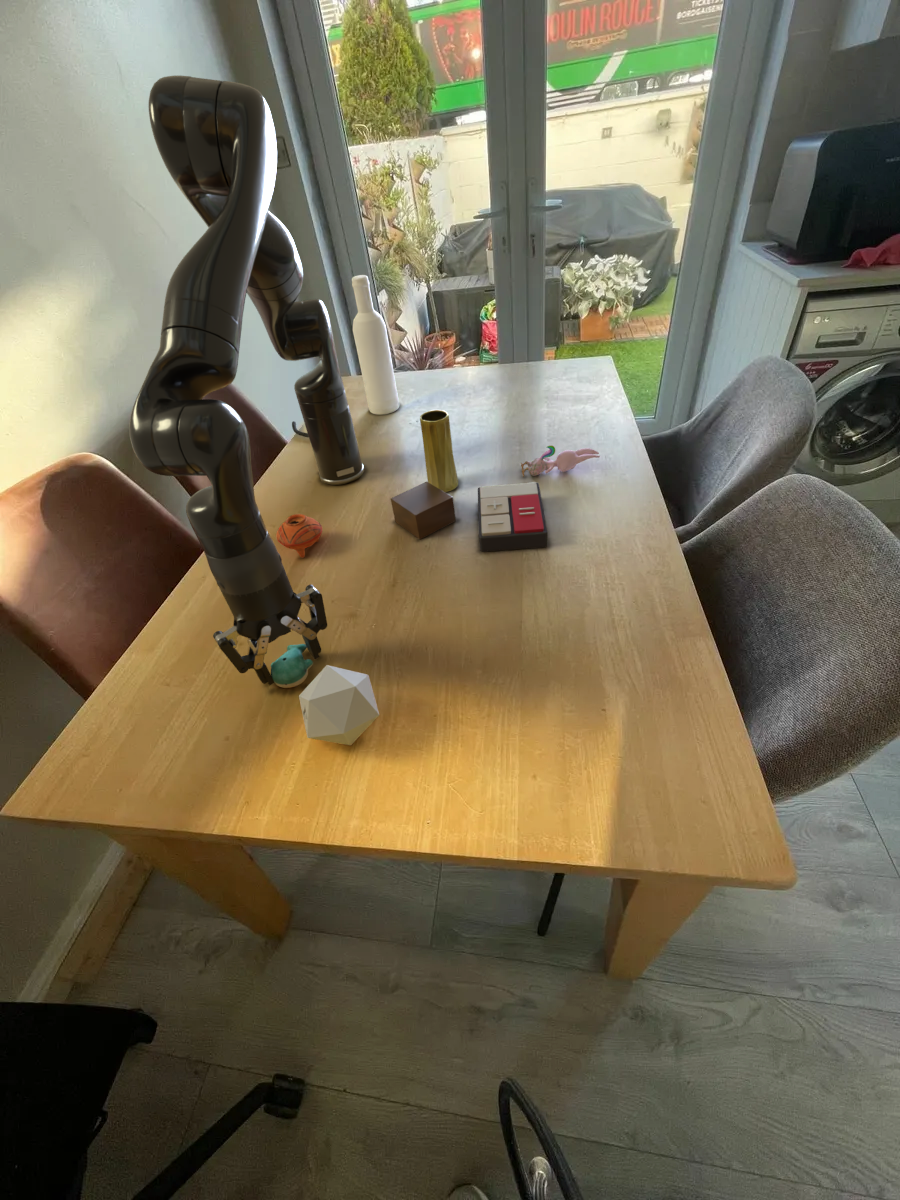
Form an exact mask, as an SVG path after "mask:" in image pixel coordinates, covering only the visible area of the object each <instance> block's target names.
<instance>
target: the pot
mask: <svg viewBox="0 0 900 1200" xmlns="http://www.w3.org/2000/svg"><path fill="white" fill-rule="evenodd" d="M322 533H323V526H322V523H320V522H319V521H318V520H317V519H314V518H312V517H311V516H307V515H305V514H303V513H295V514H292V515H289V516H288V517H287V518H286V519H285V520H284V522H282V524H280V526H279V527H278V529H277V531H276V534H275V535H276V536H275V537H276V540H277V542H278V543H279V544H281V546H283V547H285V548H287V549H290V550H295V551H296V553H297V554H298V555H299V557H300V558H302V559H303V558H305V555H306V548H309V547H311V546H313V545H314V544H315V543H319V540H320V538H321V536H322Z"/></svg>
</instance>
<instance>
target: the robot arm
mask: <svg viewBox="0 0 900 1200" xmlns="http://www.w3.org/2000/svg"><path fill="white" fill-rule="evenodd" d="M148 117H149V123H150V128H151V132H152V135H153V139H154V142H155V144H156V147H157V149H158V152H159V153H158V154H159V155H160V157H161V158H162V162H163V164H164V166H165V168H166V169H167V171H168V173H169V175H170V177H171V178H172V180H173V182H174V183H175V185H176V186H177V187H178V189H179V191H180V192H181V193H182V194H183V196H184V197H185V199H186V200H187V201H188V203H189V204H190V205H191V207H192V208H193V209H194V210H195V212H196V213H197V214H198V216H199V217H200V218H201V220H202V221H203V223H204V224H205V226H206V227H207V229H206V231H205V232H204V233H203V234H202V235H201V237H200V238H199V239H198V240H197V241H196V242H195V243H194V244H193V245H192V246H191V248H190V249H189V250H188V251H187V252H186V254H185V255H184V256H183V257H182V259H181V260H180V262H179V263H178V264H177V266H176V268H175V269H174V271H173V272H172V275H171V277H170V279H169V282H168V285H167V288H166V293H165V296H164V297H165V298H164V305H163V313H162V322H161V328H160V329H161V330H160V336H159V337H160V339H159V348H158V351H157V353H156V355H155V357H154V359H153V361H152V362H151V364H150V366H149V369H148V370H147V374H146V376H145V378H144V380H143V382H142V385H141V387H140V388H139V391H138V394H137V395H136V398H135V401H134V402H133V403H134V404H133V406H132V409H131V413H130V417H129V424H128V426H129V439H130V443H131V447H132V450H133V452H134V455H135V457H136V458H137V460H138V462H139V463H140V464H141V465H142V466H143V467H144V468H145V469H146V470H148V471H149V472H151V473H153V474H155V475H158V476H159V475H160V476H165V477H192V476H193V477H206V478H207V479H208V480H209V482H210V485H209V486H205V487H204V488H201V489H199V490H198V491H196V492H195V493H193V494H192V495H191V496H190V497H189V498H188V500H187V503H186V506H185V512H186V513H185V514H186V516H187V519H188V521H189V525H190V526H191V528H192V530H193V532H194V534H195V536H196V538H197V540H198V543H199V544H200V547H201V549H202V550H203V552H204V555H205V557H206V560H207V561H206V562H207V564H208V567H209V570H210V572H211V574H212V576H213V578H214V580H215V582H216V585H217V586H218V588H219V590H220V592H221V594H222V595H223V598H224V600H225V602H226V604H227V606H228V608H229V610H230V612H231V614H232V616H233V624H232V625H233V626H231V627H229V628H227V630H225V631H222V630H216V631H215V632H214V633H213V636H212V638H213V639H214V641H215V642H216V644H217V646H218V647H219V649H220V650H221V652H222V653H223V654H224V655H225V656H226V658H227V659H228V660H229V661H230V662H231V664H232V665H233V666H234V668H235V669H236V671H238V672H239V674H246V673H247V672H248V671H249V670H251V669H252V670H254V673H255V674H256V676H257V678H258V679H259V681H260V682H261V684H263V685H266V684H268V685H269V686H273V684H275V682H274V681H273V678H272V676H271V671H270V669H269V668H268V666H267V664H266V663H265V656H266V655H267V653H268V648H269V644H270V643H272V642H274V641H276V640H277V639H278V638H280V637H282V636H285V635H288V634H289V633H291V632H292V631H294V632H295V633H297V634H298V635H300V636H302V638H303V641H304V644H306V646H307V649H306V650H307V651H308V653H309V655H310V656H311V657H312V658H313V660H315V661H316V660H318V659H319V658H320V653H322V647H321V644H320V641H319V639H318V636H317V635H318V633H319V631H324V630H325V629H327V628H328V620H327V616H326V609H325V603H324V599H323V598H324V597H323V594H322V593H321V592H320V591H319V590H318V589H317V588H316V587H315V586H314V584H308V585H306V586H305V589H304V591H301V592H299V593H296V592H294V590H293V587H292V585H291V582H290V580H289V577H288V574H287V572H286V569H285V566H284V564H283V561H282V560H283V559H282V556H281V554H280V553H279V551H278V549H277V546H276V544H275V542H274V540H273V538H272V537H271V535H270V534H269V531H268V529H267V527H266V524H265V521H264V519H263V517H262V514H261V511H260V509H259V507H258V505H257V504H258V503H257V501H256V495H255V488H254V478H253V471H252V470H253V469H252V457H251V456H252V455H251V441H250V435H249V431H248V428H247V426H246V424H245V422H244V420H243V419H242V417H241V416H240V414H239V413H238V412H237V410H235V409H234V408H233V407H232V406H231V405H229V404H228V403H226V402H224V401H222V400H220V399H213V398H205V397H206V396H208V395H209V394H211V393H213V392H216V391H219V390H222V389H224V388H226V387H229V386H230V385H231V384H232V383H234V380H235V379H236V376H237V373H238V367H239V358H240V357H239V356H240V348H241V347H240V346H241V336H242V329H243V317H244V310H245V303H246V298H247V296H248V297H249V299H250V301H251V302H252V305H253V306H254V308H255V309H256V311H257V313H258V315H259V317H260V319H261V322H262V324H263V326H264V329H265V331H266V333H267V335H268V338H269V341H270V342H271V344H272V347H273V349H274V350H275V353H277V355H278V356H279V358H281V359H282V360H284V361H288V362H297V361H304V360H309V359H315V358H319V359H320V360H319V362H318V363H317V364H316V366H315V367H313V368H312V369H311V370H309V371H308V372H306V373H305V374H302V375H301V376H300V377H299V378H297V380H296V381H295V383H294V385H293V387H294V392H295V396H296V399H297V403H298V407H299V410H300V413H301V415H302V419H303V422H304V427H305V429H306V432H304V431H301V430H298V428H297V423H296V421H292V422H291V427H292V430H293V432H294V433H295V434H296V435H298V436H300V437H304V438H305V437H306V438H308V440H309V444H310V446H311V450H312V453H313V457H314V460H315V463H316V467H317V471H318V475H319V479H320V481H321V482H322V483H324V484H325V485H330V486H338V485H339V486H340V485H345V484H349V483H352V482H354V481H356V480H358V479H359V478H360V477H362V476H363V474H364V472H365V467H364V464H363V460H362V456H361V452H360V448H359V443H358V439H357V436H356V435H357V434H356V431H355V426H354V422H353V418H352V413H351V409H350V405H349V401H348V397H347V393H346V389H345V385H344V381H343V377H342V373H341V369H340V365H339V361H338V355H337V350H336V349H337V348H336V344H335V339H334V333H333V328H332V323H331V318H330V315H329V312H328V309H327V307H326V305H325V303H324V302H323V301H322V300H321V299H320V298H310V299H304V300H297V299H298V297H299V295H300V293H301V290H302V287H303V283H304V268H303V264H302V261H301V258H300V255H299V252H298V250H297V247H296V244H295V241H294V239H293V237H292V234H291V233H290V231H289V230H288V228H287V226H286V225H285V224H284V223H283V222H282V220H280V219H279V218H278V217H277V216H276V215H275V214H274V213H273V212H272V211H271V210H270V206H271V202H272V198H273V195H274V190H275V189H274V188H275V185H276V176H277V167H278V148H277V146H278V145H277V136H276V129H275V124H274V120H273V116H272V113H271V109H270V107H269V104H268V102H267V100H266V98H265V97H264V95H263V94H262V93H261V91H260V90H259V89H257V88H255V87H253V86H250V85H248V84H244V83H240V82H235V81H228V80H217V79H212V78H203V77H196V76H191V75H167V76H162V77H161V78H159V79H157V81H155V82H154V83H153V85H152V87H151V89H150V91H149V97H148ZM204 398H205V399H204ZM302 604H304V605H306V607H307V608H308V610H309V615H310V620H309V621H308V622H306V621H305V620H304V619H302V618H300V617H299V613H300V610H301V607H302ZM239 636H242V637H244V638H247V644H248V645H247V654H245V655H241V654H240V653H239V652H238V650H237V649H236V648H237V647H238V644H239V643H238V642H239V641H238V637H239Z"/></svg>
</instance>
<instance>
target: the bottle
mask: <svg viewBox="0 0 900 1200" xmlns="http://www.w3.org/2000/svg"><path fill="white" fill-rule="evenodd" d="M370 284H371V283H370V280H369V277H368V275H366V274H358V275H354V276H352V278H351V287H352V289H353V293H354V299H355V303H356V309H357V313H356V314H355V317H354V318H353V320H352V321H353V322H352V334H353V338H354V343H355V348H356V353H357V357H358V362H359V367H360V372H361V377H362V381H363V386H364V391H365V396H366V402H367V406H368V410H369V412H370V413H371V414H373V415H379V416H380V415H389V414H391V413H392V414H393V413H394V412H396V411H398V409H399V408H400V399H399V393H398V388H397V384H396V377H395V371H394V366H393V359H392V354H391V348H390V342H389V337H388V331H387V326H386V323H385V320H384V318H383V316H382V315H381V314H380V313H379V312H377V311H376V310H375V309H374V308H375V307H374V304H373V299H372V293H371V292H372V291H371V287H370V286H371V285H370Z"/></svg>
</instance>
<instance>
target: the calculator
mask: <svg viewBox="0 0 900 1200" xmlns="http://www.w3.org/2000/svg"><path fill="white" fill-rule="evenodd" d="M542 499H543V498H542V494H541V489H540V484H539V482H536V481H532V482H520V483H508V484H497V485H485V486H483V485H482V486H479V487H477V514H478V515H477V516H478V519H477V521H478V540H479V541H478V542H479V551H480V552H482V553H483V552H484V553H485V552H496V551H497V552H498V551H499V552H500V551H512V550H526V549H527V550H528V549H539V548H541V549H542V548H546V547H547V546H548V528H547V523H546V517H545V512H544V506H543V500H542Z"/></svg>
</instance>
